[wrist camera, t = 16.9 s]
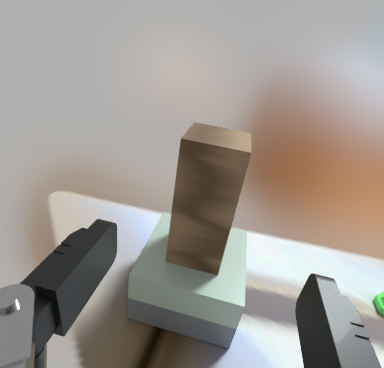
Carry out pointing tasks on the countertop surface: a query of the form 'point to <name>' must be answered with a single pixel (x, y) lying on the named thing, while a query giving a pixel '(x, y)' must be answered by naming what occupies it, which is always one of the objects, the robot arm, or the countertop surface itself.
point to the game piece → (379, 302)
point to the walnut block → (206, 195)
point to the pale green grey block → (188, 290)
